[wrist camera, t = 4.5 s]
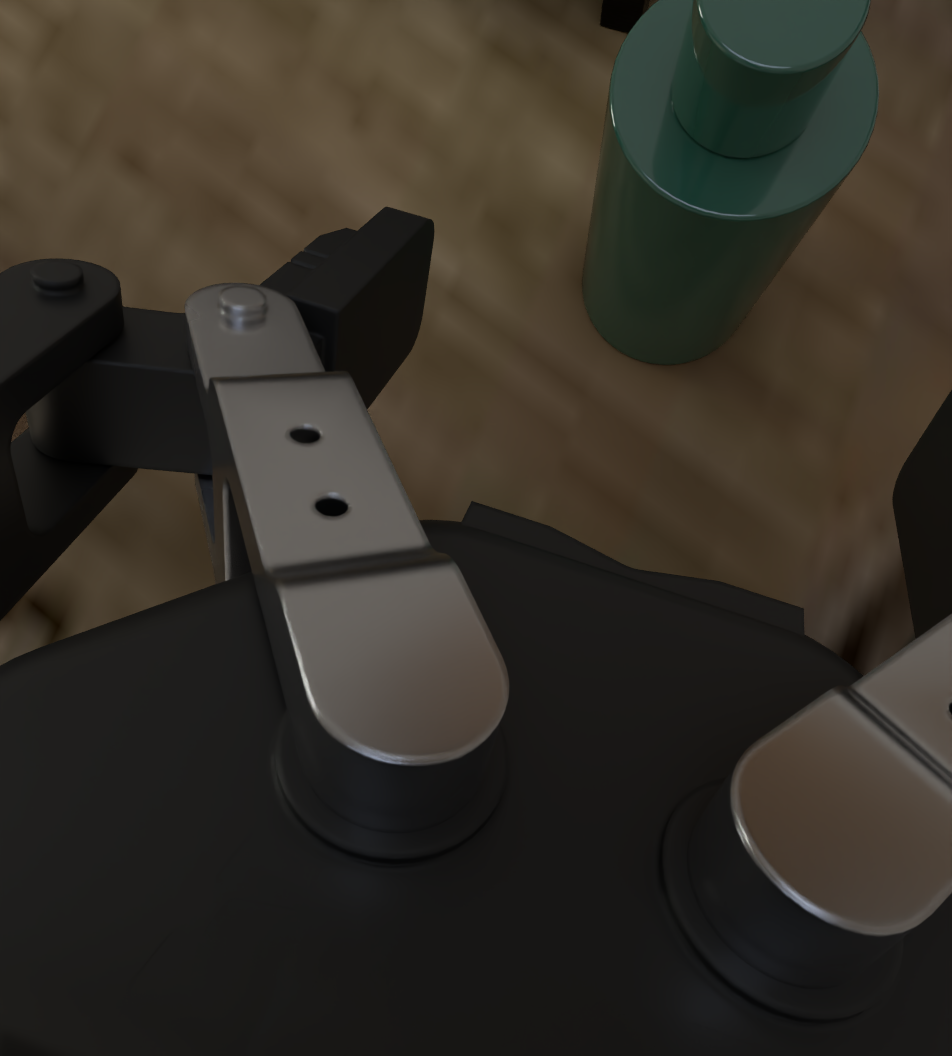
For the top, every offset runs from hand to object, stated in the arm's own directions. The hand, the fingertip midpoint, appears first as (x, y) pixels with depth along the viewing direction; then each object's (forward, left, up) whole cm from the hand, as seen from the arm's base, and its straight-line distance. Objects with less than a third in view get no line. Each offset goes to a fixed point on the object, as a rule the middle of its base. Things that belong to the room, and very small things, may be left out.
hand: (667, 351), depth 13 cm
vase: (0, +6, -11) cm, 12 cm away
